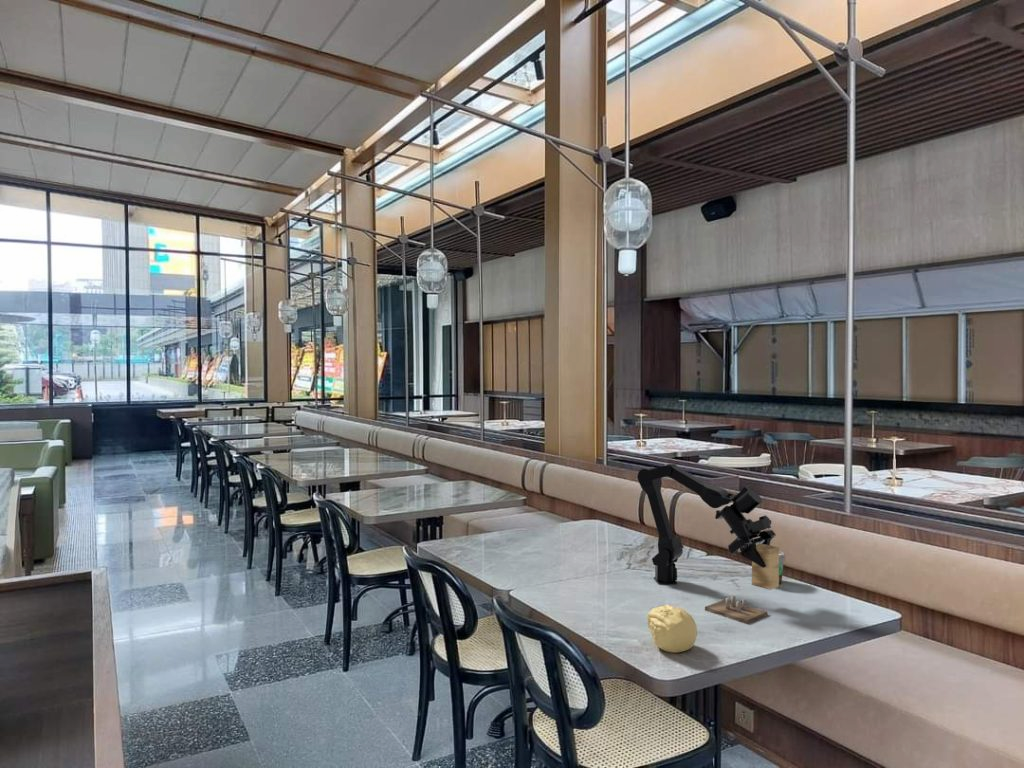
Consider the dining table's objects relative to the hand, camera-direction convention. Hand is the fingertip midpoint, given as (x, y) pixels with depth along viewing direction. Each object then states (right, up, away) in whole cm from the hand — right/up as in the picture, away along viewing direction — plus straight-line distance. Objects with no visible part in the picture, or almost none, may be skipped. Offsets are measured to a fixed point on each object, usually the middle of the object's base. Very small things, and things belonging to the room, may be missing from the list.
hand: (769, 565), depth 201 cm
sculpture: (-37, -14, -29) cm, 49 cm away
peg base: (-12, -13, -4) cm, 18 cm away
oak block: (-1, -7, +1) cm, 7 cm away
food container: (+10, -13, +23) cm, 28 cm away
